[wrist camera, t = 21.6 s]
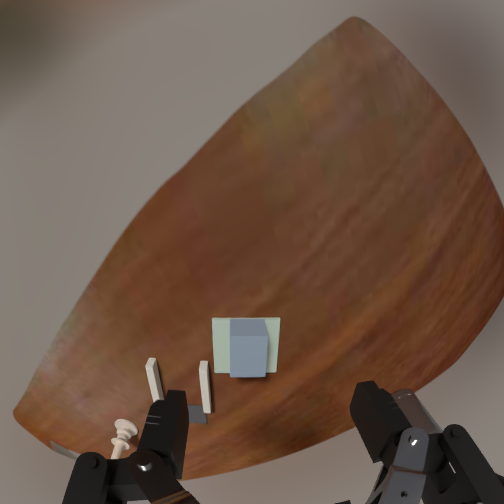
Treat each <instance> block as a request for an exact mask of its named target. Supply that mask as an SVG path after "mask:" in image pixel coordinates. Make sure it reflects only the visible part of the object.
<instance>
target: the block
mask: <svg viewBox="0 0 504 504" xmlns="http://www.w3.org/2000/svg"><path fill="white" fill-rule="evenodd" d="M267 345H268V333H267V329H266V324H265V320H264V319H230V377H265V374H266V360H267Z"/></svg>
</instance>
